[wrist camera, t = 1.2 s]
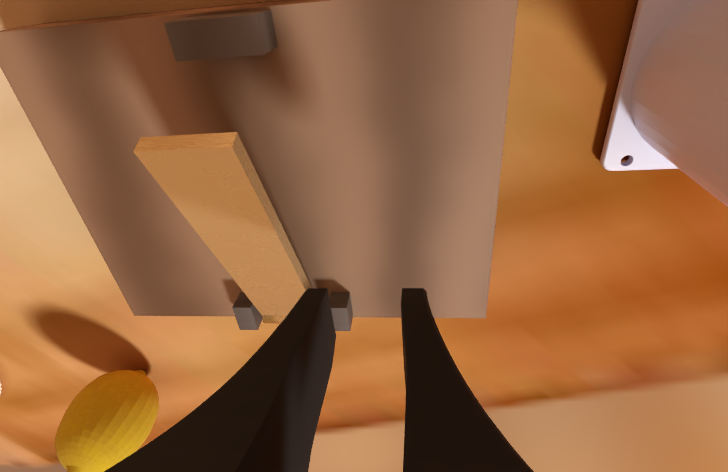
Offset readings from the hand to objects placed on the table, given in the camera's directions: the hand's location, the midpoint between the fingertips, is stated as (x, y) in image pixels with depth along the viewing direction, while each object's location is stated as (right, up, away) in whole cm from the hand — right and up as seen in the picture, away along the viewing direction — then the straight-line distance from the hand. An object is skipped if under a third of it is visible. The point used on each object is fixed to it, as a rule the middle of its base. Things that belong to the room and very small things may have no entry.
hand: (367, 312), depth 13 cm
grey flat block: (-4, +6, +9) cm, 11 cm away
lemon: (-17, -8, +20) cm, 28 cm away
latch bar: (-5, +2, +5) cm, 7 cm away
